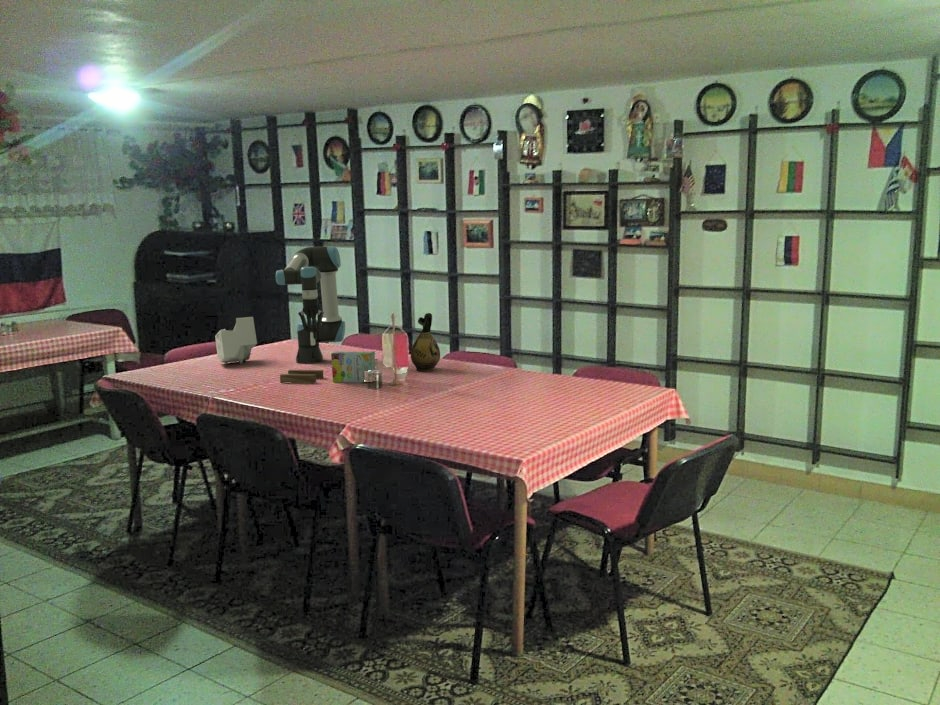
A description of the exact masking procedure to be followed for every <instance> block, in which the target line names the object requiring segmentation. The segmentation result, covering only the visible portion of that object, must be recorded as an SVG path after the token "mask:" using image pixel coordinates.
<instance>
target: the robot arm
mask: <svg viewBox="0 0 940 705" xmlns="http://www.w3.org/2000/svg"><path fill="white" fill-rule="evenodd" d="M341 265H342V263H341V256H340V251H339V249H338V248H337V247H336V246H329V245H327V246H325V245H324V246H308V247H304V248H301V249H299V250H298V251H297V252H295V253H294V254H292V257H291V258H290V261H289V263H288V264H287V266H286V267H285V268H284V269H278V270H276V272H275V282H276V284H277V285H280V286H287V285H288V286H291V285H293V286H295V285H301V294H302V295H301V296H302V310H301V311H298V316H299V317H300V320H301V321H300V322H297V325H296V332H297V334H296V335H297V346H298V348H297V352H296V357H295V361H296V363H298V364H316V363H315V362H317V363H321V362H323V361H324V356H323V354H322V351H321V348H320V343H322V344H323V343H341V342H343V341H344V339H345V334H346V322H345V321H344V320H342V316H340V314H339V302H338V289H337V276H336V275H337V272H338V271H339V268H341ZM319 282H320V291H321V302H322V303H321V304H322V310H321V309H320V307H319V299H318V297H319V295H318V283H319ZM317 315H318V317H317ZM305 316H306V317H305ZM320 361H321V362H320Z"/></svg>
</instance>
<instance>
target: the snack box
mask: <svg viewBox="0 0 940 705" xmlns="http://www.w3.org/2000/svg"><path fill="white" fill-rule="evenodd" d="M375 358H376V356H375V351H345V350H343V351H333V352H331V374H332V383H357V384H358V383H361V384H362V383H363V384H364V378H363V372H364V371H368V370H373V369H375V370H376V360H375Z"/></svg>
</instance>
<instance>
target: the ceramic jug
mask: <svg viewBox="0 0 940 705" xmlns="http://www.w3.org/2000/svg"><path fill="white" fill-rule="evenodd" d="M432 322H433V314H432V313H430V312H427V313H425V314H424V317H422V316H421V317H419V318H418V319H417V323H418V324H419V325H420V326H422V330H421V332H420V333H419V335H418V336H417V337H416V339H415V341H414V343H412V348H411V350H410V351H411V352H410V360H411V362H412V364H413V366H414V367H415V369H416V371H417V372H421V373H422V372H432V371H434V370H435V368H436V366H437V365H438V364H439V362H440V359H441V351H440V347H439V344H438V342H437V341H436V339H435V337H434V336H433V334H432V333H431V327H432Z"/></svg>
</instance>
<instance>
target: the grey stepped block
mask: <svg viewBox="0 0 940 705" xmlns="http://www.w3.org/2000/svg"><path fill="white" fill-rule="evenodd" d="M214 339H215V346H216V354H217V358H218V359H219V361H220V363H224V364H225V363H226V364H225V365H229V364H230V363H238V362H237V361H240V362H239V364H240V365H242V364H244V363H245V362H246V361H248V360H250V359H251V355H252V349H253V348H254V347H255V346H257V345H258V340H257V339H258V338H257V334H256V326H255V320H254V317H253V316H247V317H236V318H235V325H234V327H233V330H230V329H229V330H226V328H224V329H220V330H219V331H218V332H217V333H216V334H215V338H214Z"/></svg>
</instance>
